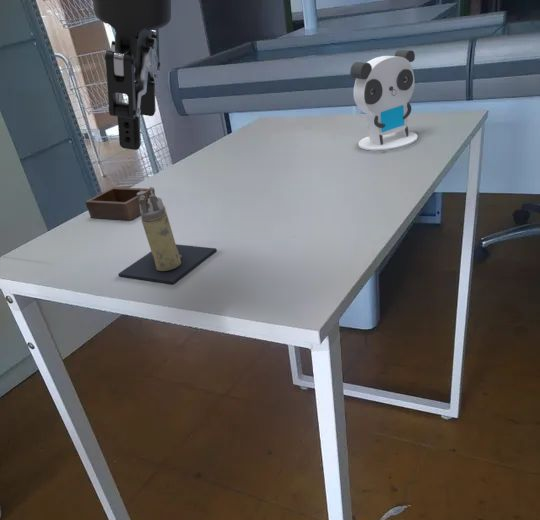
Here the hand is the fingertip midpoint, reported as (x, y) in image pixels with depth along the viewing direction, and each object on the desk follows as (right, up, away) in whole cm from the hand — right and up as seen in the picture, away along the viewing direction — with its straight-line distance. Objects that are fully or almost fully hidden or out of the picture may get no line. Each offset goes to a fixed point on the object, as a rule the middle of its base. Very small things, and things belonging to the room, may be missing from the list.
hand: (138, 130), depth 63 cm
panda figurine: (+38, +16, +44) cm, 60 cm away
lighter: (+1, -13, +13) cm, 19 cm away
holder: (-11, 0, +36) cm, 38 cm away
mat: (+1, -13, +14) cm, 19 cm away
